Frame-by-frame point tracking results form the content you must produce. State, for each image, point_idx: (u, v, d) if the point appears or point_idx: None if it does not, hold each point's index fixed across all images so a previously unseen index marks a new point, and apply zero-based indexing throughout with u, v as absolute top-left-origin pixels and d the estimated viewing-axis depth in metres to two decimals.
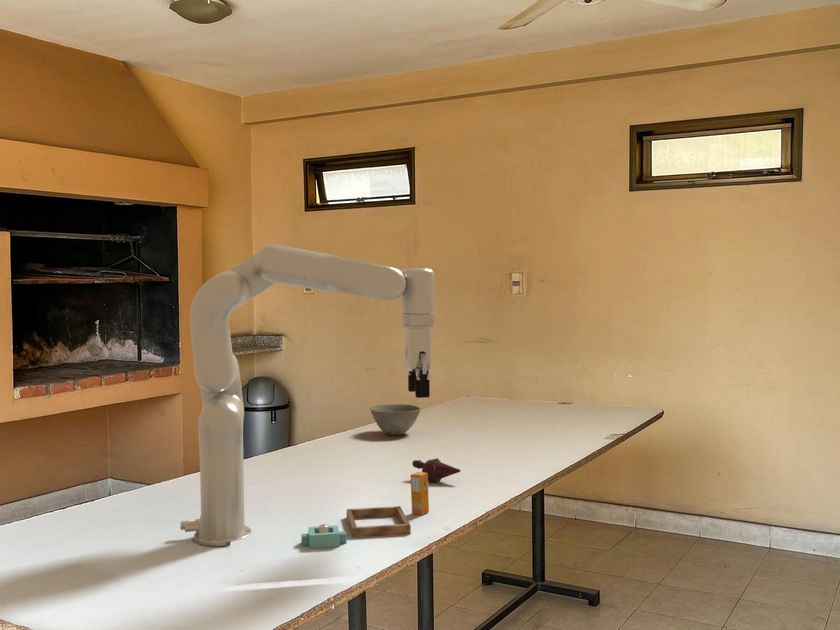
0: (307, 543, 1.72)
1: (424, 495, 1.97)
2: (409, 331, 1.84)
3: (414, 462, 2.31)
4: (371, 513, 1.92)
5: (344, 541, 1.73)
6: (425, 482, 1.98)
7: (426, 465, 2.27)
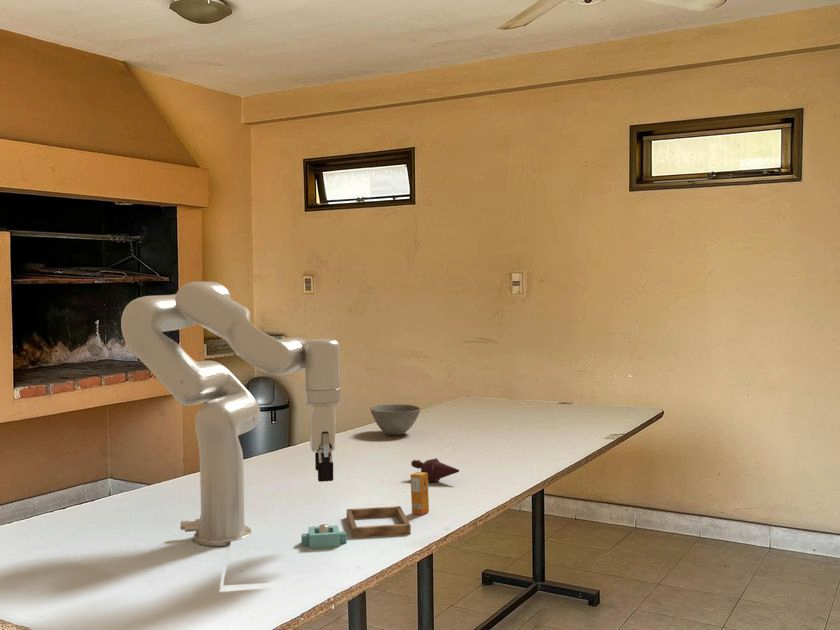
0: (307, 543, 1.72)
1: (424, 495, 1.97)
2: (311, 408, 1.69)
3: (413, 462, 2.31)
4: (371, 513, 1.92)
5: (344, 541, 1.73)
6: (425, 482, 1.98)
7: (425, 465, 2.27)
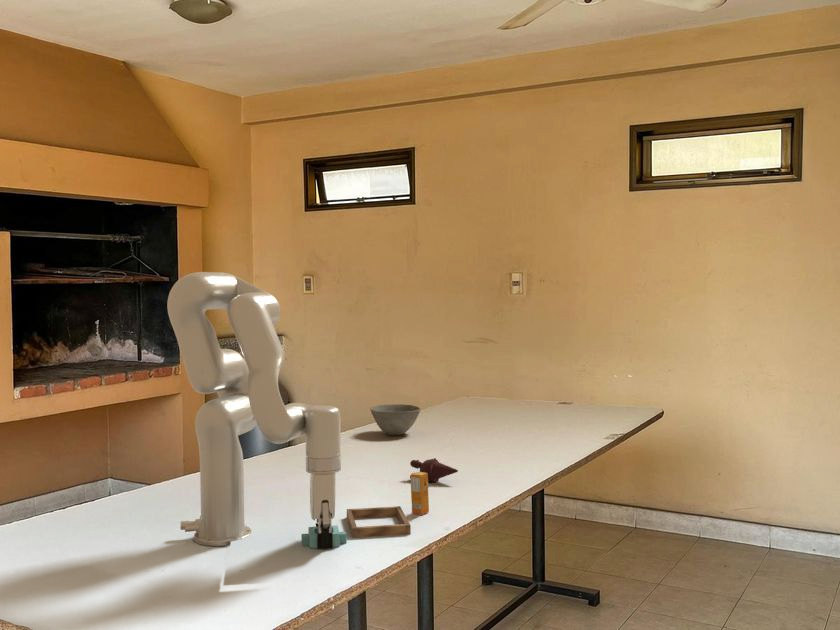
0: (307, 543, 1.72)
1: (424, 495, 1.97)
2: (311, 476, 1.70)
3: (412, 462, 2.31)
4: (371, 513, 1.92)
5: (344, 541, 1.73)
6: (425, 482, 1.98)
7: (424, 465, 2.27)
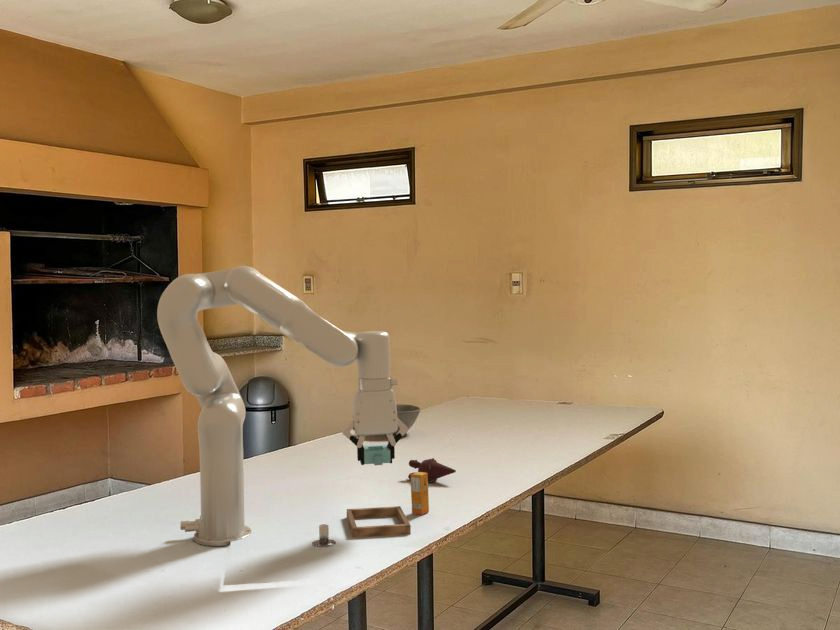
0: None
1: (424, 495, 1.97)
2: None
3: (410, 462, 2.31)
4: (371, 513, 1.92)
5: (374, 463, 1.80)
6: (425, 482, 1.98)
7: (422, 465, 2.28)
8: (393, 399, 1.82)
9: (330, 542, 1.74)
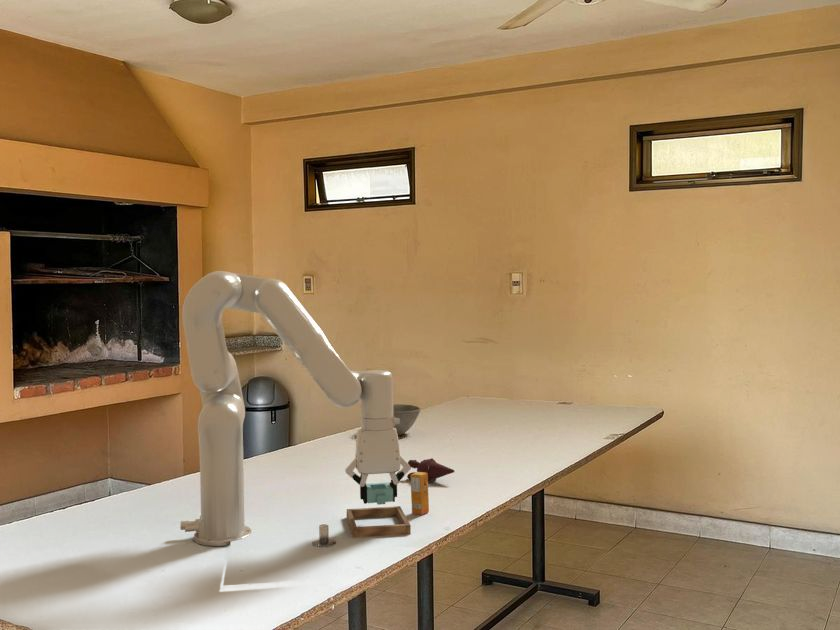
0: None
1: (424, 495, 1.97)
2: None
3: (409, 462, 2.31)
4: (371, 513, 1.92)
5: (377, 502, 1.81)
6: (425, 482, 1.98)
7: (420, 465, 2.28)
8: (396, 438, 1.83)
9: (330, 542, 1.74)
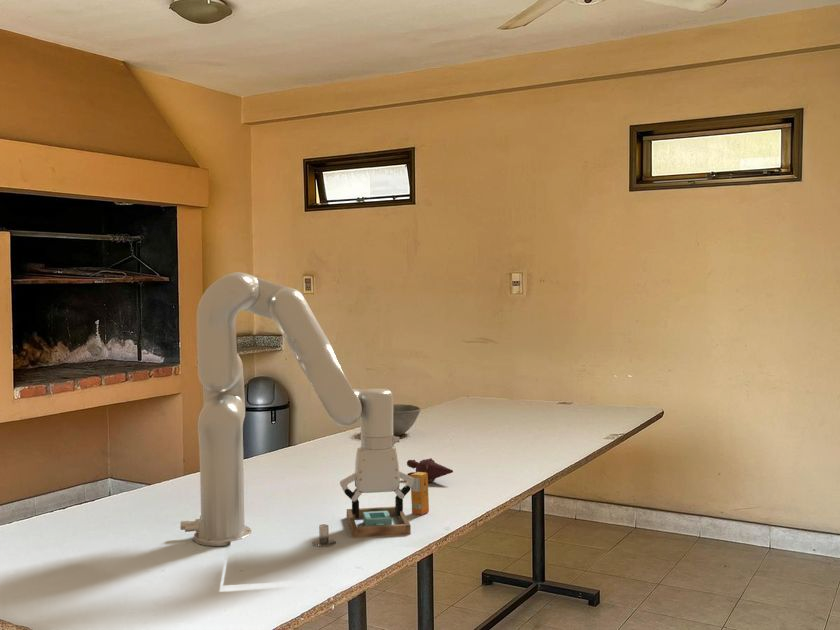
0: None
1: (424, 495, 1.97)
2: None
3: (408, 462, 2.31)
4: None
5: None
6: (425, 482, 1.98)
7: (419, 465, 2.28)
8: (395, 457, 1.84)
9: (330, 542, 1.74)
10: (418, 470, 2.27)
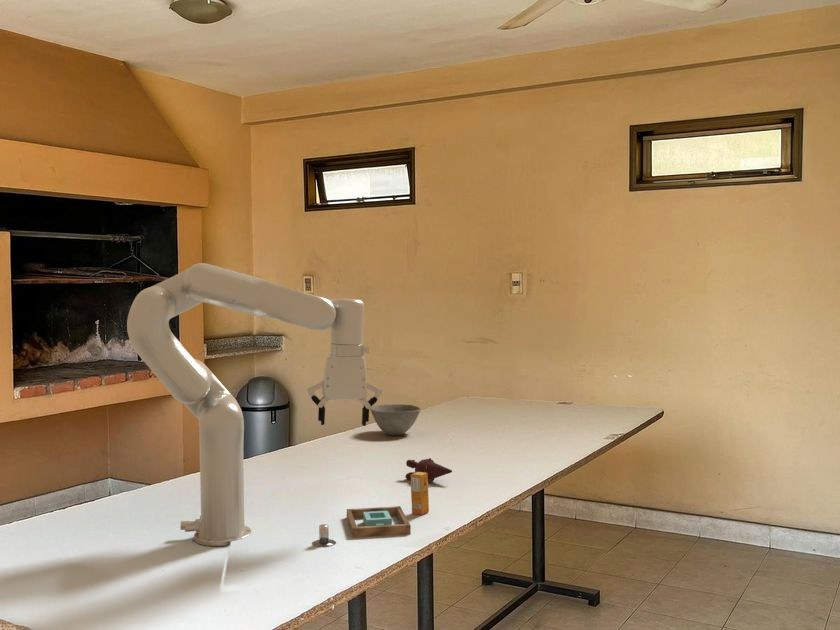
0: None
1: (424, 495, 1.97)
2: None
3: (407, 462, 2.31)
4: None
5: None
6: (425, 482, 1.98)
7: (418, 465, 2.28)
8: (363, 366, 1.85)
9: (330, 542, 1.74)
10: (417, 470, 2.27)
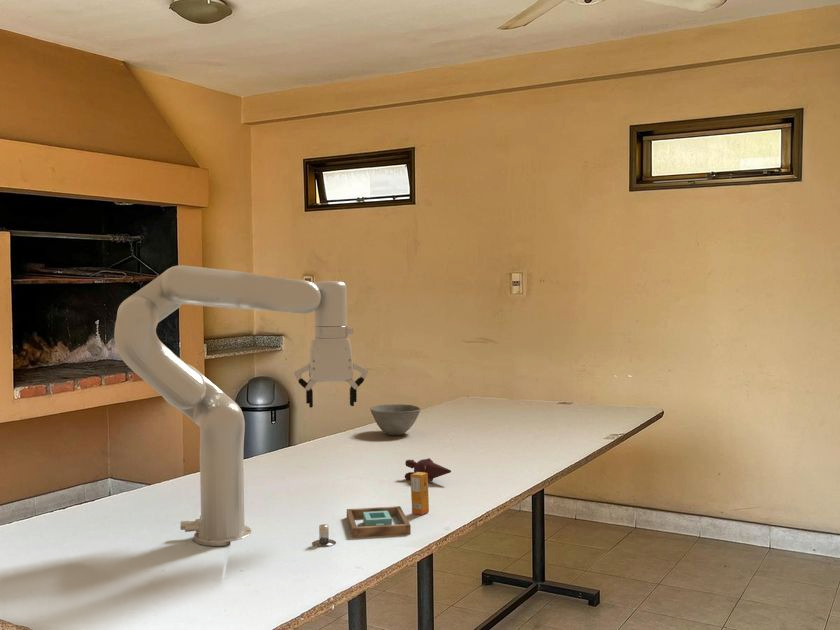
0: None
1: (424, 495, 1.97)
2: None
3: (407, 462, 2.31)
4: None
5: None
6: (425, 482, 1.98)
7: (417, 465, 2.28)
8: (349, 347, 1.87)
9: (330, 542, 1.74)
10: (416, 470, 2.27)
